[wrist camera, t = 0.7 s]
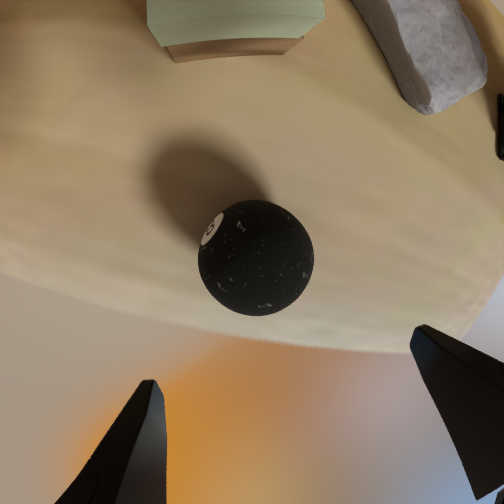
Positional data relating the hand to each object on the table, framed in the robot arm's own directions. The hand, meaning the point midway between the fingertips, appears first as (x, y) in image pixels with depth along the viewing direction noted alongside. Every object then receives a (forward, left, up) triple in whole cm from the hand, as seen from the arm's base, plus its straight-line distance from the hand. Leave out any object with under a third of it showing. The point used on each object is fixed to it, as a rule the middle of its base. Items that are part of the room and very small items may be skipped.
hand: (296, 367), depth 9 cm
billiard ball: (0, 0, -11) cm, 11 cm away
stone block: (-13, -15, -11) cm, 23 cm away
